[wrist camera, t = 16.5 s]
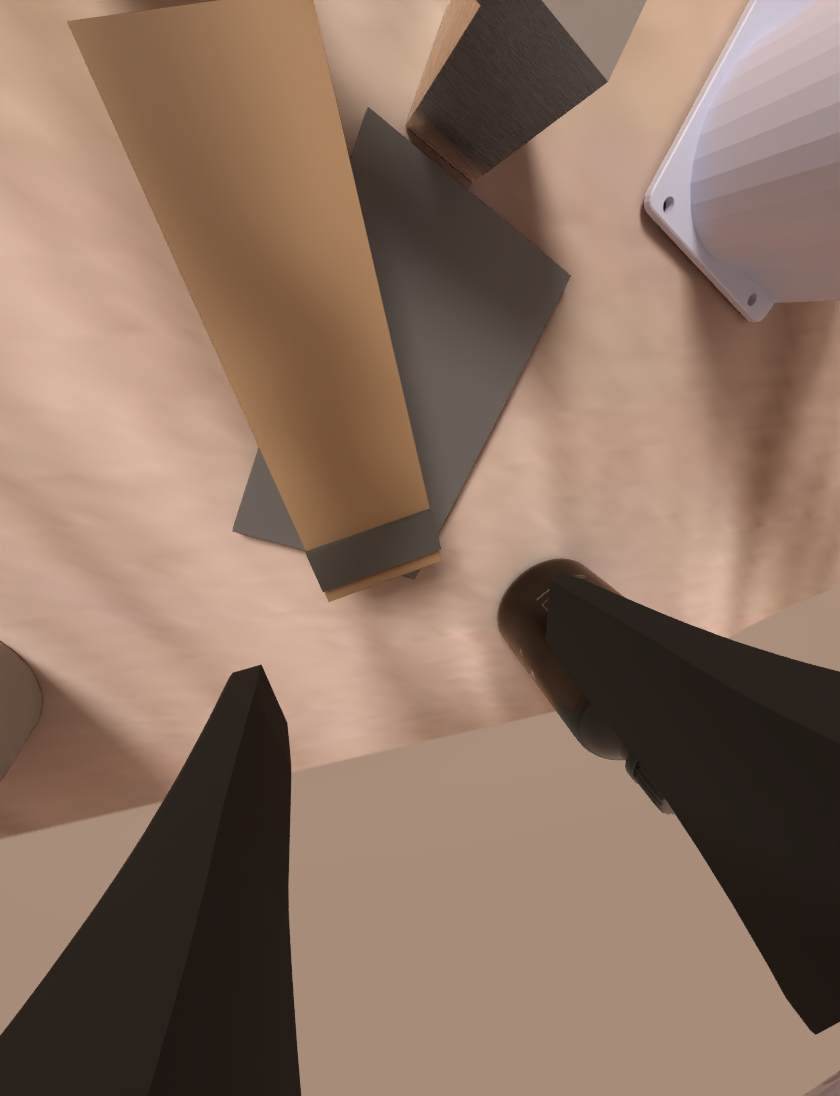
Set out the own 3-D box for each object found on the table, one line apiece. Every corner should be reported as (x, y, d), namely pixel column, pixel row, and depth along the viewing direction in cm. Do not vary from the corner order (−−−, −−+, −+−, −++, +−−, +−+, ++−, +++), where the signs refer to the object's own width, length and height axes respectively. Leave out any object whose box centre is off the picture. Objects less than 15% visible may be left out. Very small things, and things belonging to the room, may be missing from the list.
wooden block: (300, 98, 12) (310, -24, 8) (409, 514, 19) (444, 564, 15) (140, 127, 11) (59, 9, 7) (319, 545, 18) (329, 606, 14)
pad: (562, 277, 17) (571, 276, 16) (411, 573, 21) (414, 579, 21) (364, 115, 12) (367, 106, 12) (233, 525, 17) (232, 531, 17)
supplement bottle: (478, 641, 25) (606, 844, 15) (518, 548, 23) (705, 721, 13) (561, 643, 28) (716, 818, 18) (605, 560, 25) (816, 712, 15)
